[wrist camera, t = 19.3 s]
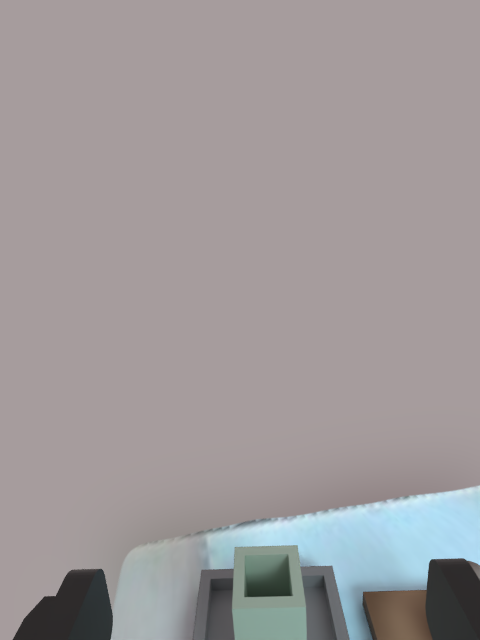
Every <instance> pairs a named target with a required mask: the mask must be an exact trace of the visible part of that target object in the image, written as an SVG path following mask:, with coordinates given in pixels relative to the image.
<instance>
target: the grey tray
mask: <svg viewBox="0 0 480 640" xmlns="http://www.w3.org/2000/svg"><path fill="white" fill-rule="evenodd" d="M300 568H301V575H302V582H303V589H304V596H305V603H306V627H307V640H349V635H348V631H347V627H346V623H345V618H344V614H343V610H342V606H341V601H340V597H339V593H338V589H337V585H336V580H335V576H334V572H333V568H332V566H311V567H300ZM233 577H234V569H217V570H202V571H201V579H200V587H199V595H198V603H197V610H196V618H195V626H194V634H193V640H235V636H234V625H233V614H232V599H233Z"/></svg>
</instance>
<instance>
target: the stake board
mask: <svg viewBox="0 0 480 640" xmlns="http://www.w3.org/2000/svg"><path fill="white" fill-rule="evenodd" d="M468 563H469V564H470V565H471V567H472V568H473V570H474V571H475V573H476V575H477V576H478V578H479V579H480V565H478V564H476V563H474V562H471V561H468ZM426 593H427V590H411V591H378V592H363V607H364V610H365V614H366V617H367V621H368V624H369V627H370V631H371V634H372V638H373V640H433V639H432V636H431V633H430V630H429V627H428V623H427V618H426V609H425V604H426Z"/></svg>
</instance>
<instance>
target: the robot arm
mask: <svg viewBox="0 0 480 640" xmlns="http://www.w3.org/2000/svg"><path fill="white" fill-rule="evenodd" d="M425 609H426V618H427V623H428V627H429V630H430V633H431V636H432V639H433V640H480V579H479V578H478V576H477V575H476V573H475V571H474V570H473V568H472V567H471V565H470V564H469V563H468V561H466V560H465V559H462V558H461V559H432V560H431V561H430V563H429V571H428V582H427V593H426V604H425ZM112 625H113V615H112V609H111V604H110V599H109V594H108V589H107V584H106V580H105V575H104V572H103V570H102V569H85V570H84V569H82V570H71V571H70V572H69V573H68V574H67V575H66V577H65V579H64V581H63V583H62V585H61V587H60V589H59V591H58V593H57V595H56V596H48V597H44V598H43V599H42V600H41V601H40V602H39V603H38V604H37V605H36V606H35V608H34V609H33V610H32V611H31V612H30V613H29V614H28V615H27V616H26V617H25V618H24V620H23V622H22V624H21V626H20V627H19V629H18V631H17V633H16V635H15V637H14V639H13V640H110V639H111V633H112Z"/></svg>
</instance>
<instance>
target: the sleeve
mask: <svg viewBox="0 0 480 640" xmlns="http://www.w3.org/2000/svg"><path fill="white" fill-rule="evenodd" d="M232 614H233V625H234V636H235V640H307V627H306V603H305V596H304V589H303V582H302V575H301V568H300V560H299V553H298V546H297V545H293V546H259V547H235V554H234V577H233V599H232Z"/></svg>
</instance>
